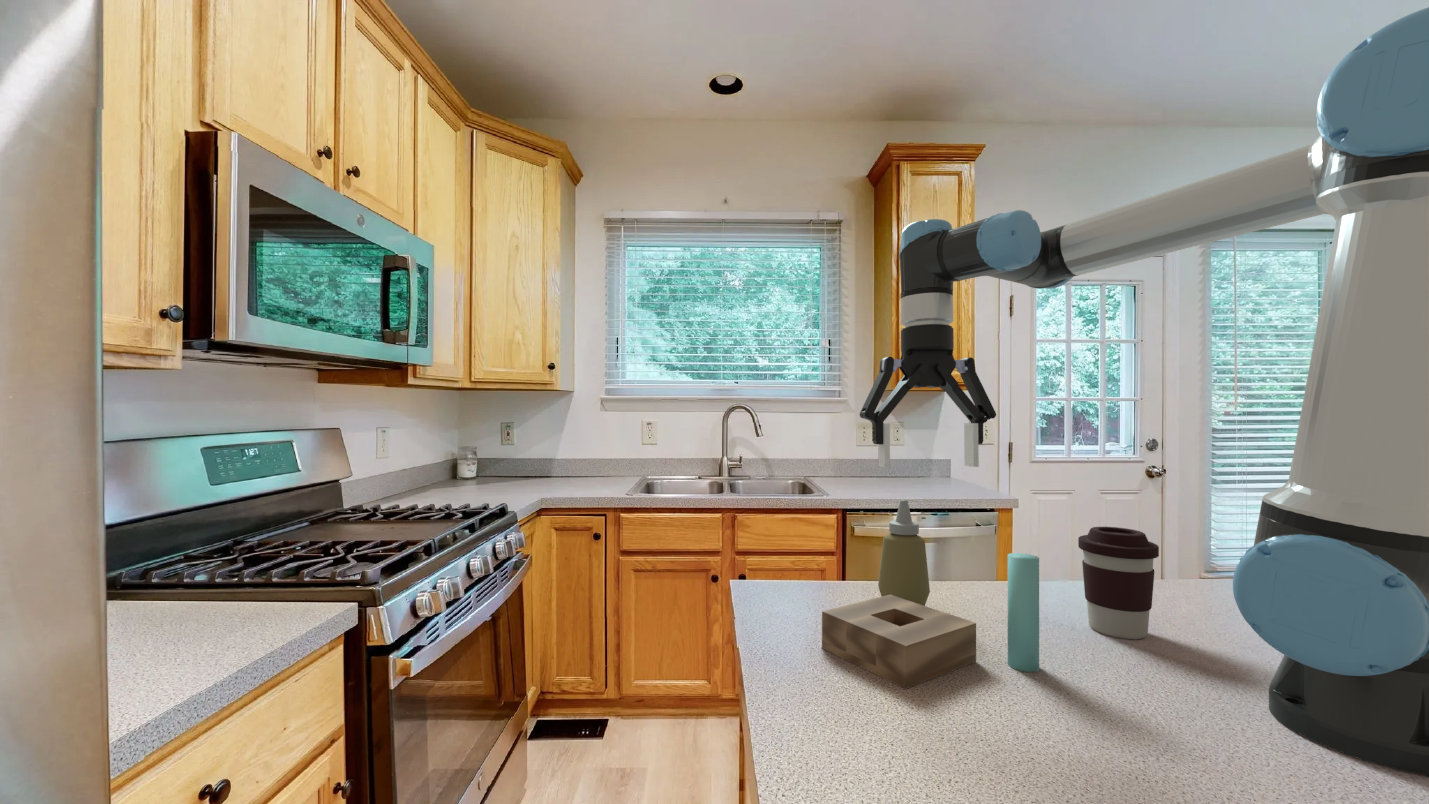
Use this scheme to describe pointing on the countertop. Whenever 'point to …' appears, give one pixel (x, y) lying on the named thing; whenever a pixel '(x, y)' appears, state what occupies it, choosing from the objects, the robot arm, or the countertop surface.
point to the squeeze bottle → (904, 560)
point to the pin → (1023, 612)
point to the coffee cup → (1118, 580)
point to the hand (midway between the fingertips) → (928, 466)
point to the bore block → (899, 639)
